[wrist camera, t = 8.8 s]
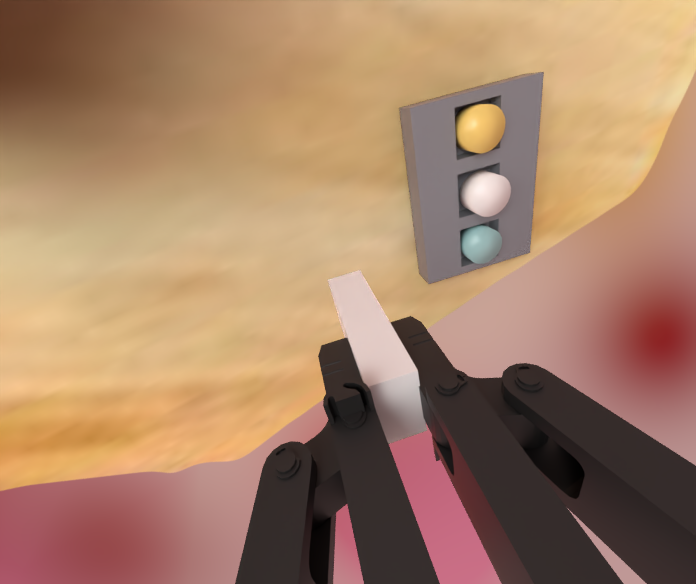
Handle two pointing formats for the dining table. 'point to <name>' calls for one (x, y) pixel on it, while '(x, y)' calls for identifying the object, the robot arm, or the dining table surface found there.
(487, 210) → the button white
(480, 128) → the button ochre
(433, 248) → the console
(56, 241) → the dining table surface
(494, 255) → the button teal
